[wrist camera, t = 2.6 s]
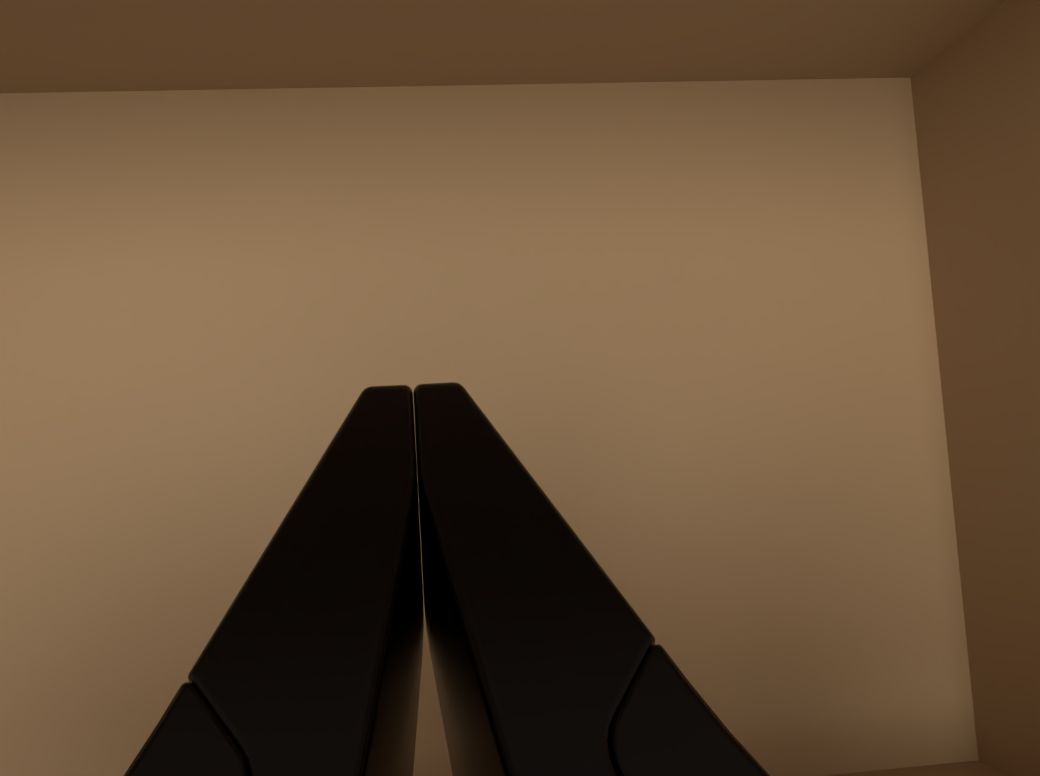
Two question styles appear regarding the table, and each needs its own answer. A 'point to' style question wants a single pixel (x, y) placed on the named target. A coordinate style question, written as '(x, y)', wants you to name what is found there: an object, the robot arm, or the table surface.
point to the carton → (538, 337)
